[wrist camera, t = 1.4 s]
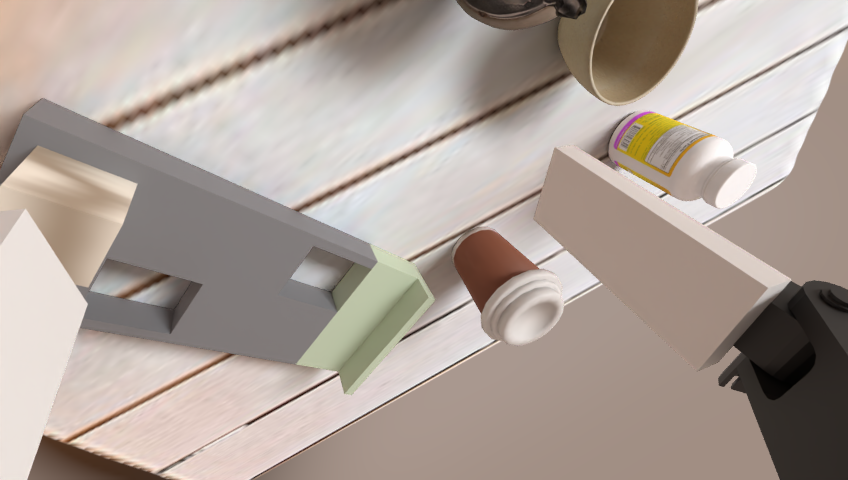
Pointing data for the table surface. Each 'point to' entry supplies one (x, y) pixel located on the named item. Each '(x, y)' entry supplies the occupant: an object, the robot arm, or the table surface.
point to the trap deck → (231, 260)
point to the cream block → (70, 207)
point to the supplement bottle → (680, 159)
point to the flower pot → (625, 45)
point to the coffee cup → (507, 287)
